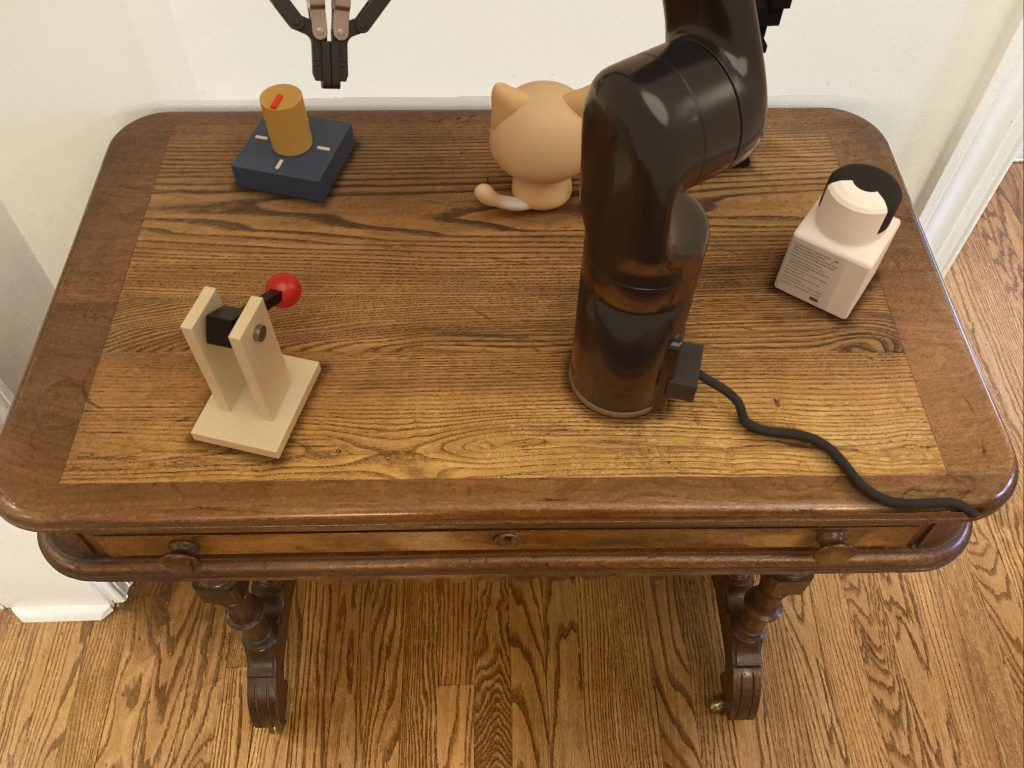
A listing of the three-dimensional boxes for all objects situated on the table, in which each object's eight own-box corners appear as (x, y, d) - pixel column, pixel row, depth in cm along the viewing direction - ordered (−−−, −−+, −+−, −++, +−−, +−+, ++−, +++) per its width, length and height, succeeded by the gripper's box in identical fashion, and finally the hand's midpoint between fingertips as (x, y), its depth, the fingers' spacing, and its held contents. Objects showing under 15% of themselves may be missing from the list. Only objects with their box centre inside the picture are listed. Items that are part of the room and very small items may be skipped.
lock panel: (355, 144, 98) (351, 121, 95) (323, 203, 92) (318, 180, 90) (274, 130, 99) (267, 107, 97) (237, 187, 94) (230, 164, 91)
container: (803, 242, 90) (844, 142, 79) (874, 274, 87) (925, 175, 76) (771, 287, 86) (809, 188, 75) (844, 322, 83) (894, 224, 73)
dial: (280, 127, 95) (267, 78, 90) (318, 133, 94) (307, 84, 89) (265, 153, 92) (251, 104, 87) (304, 159, 92) (292, 110, 87)
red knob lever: (274, 298, 80) (275, 265, 78) (306, 305, 79) (308, 272, 78) (200, 346, 68) (199, 309, 67) (237, 354, 67) (237, 317, 66)
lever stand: (241, 352, 81) (203, 257, 70) (321, 369, 79) (294, 275, 69) (194, 439, 75) (144, 350, 64) (279, 459, 74) (242, 372, 63)
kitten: (611, 166, 96) (626, 47, 84) (616, 230, 90) (634, 111, 78) (478, 165, 96) (474, 45, 84) (475, 228, 90) (470, 109, 78)
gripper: (232, -171, 60) (249, 88, 67) (417, -150, 64) (417, 93, 71) (232, -151, 67) (248, 83, 73) (400, -133, 71) (401, 88, 77)
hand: (331, 88), depth 72 cm, fingers closed
